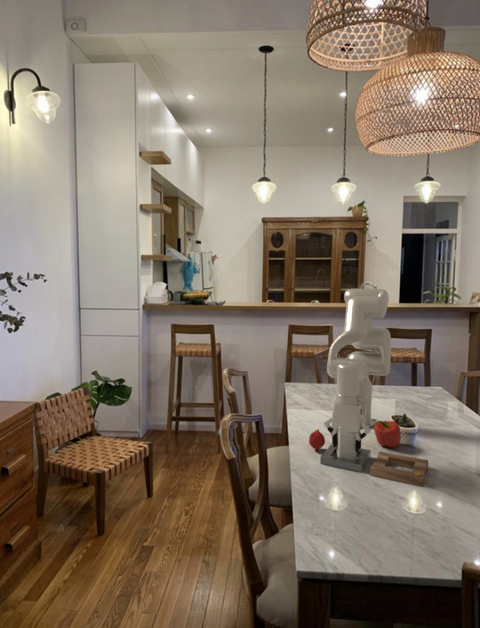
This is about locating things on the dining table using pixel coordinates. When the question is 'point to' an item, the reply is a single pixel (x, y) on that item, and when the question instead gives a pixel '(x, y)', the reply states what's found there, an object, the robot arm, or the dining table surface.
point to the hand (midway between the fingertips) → (346, 447)
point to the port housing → (397, 474)
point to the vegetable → (387, 433)
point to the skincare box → (346, 444)
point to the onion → (316, 440)
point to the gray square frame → (344, 463)
